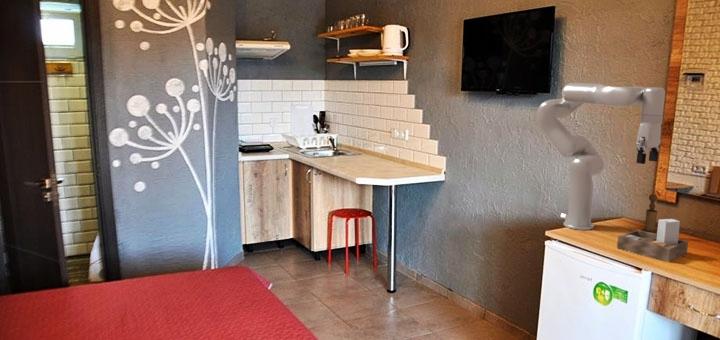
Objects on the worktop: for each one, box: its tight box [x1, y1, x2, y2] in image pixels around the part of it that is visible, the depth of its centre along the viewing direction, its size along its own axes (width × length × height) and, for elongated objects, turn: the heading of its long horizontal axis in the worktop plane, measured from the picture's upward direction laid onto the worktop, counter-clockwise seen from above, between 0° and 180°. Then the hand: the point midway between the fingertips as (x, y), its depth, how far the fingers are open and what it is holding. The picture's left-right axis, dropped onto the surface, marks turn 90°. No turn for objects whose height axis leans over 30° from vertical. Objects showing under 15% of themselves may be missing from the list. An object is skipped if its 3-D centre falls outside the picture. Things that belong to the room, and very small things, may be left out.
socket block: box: [616, 229, 689, 263], centre depth 205 cm, size 19×15×5 cm
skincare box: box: [656, 218, 681, 246], centre depth 202 cm, size 6×4×12 cm
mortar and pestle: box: [640, 193, 658, 234], centre depth 223 cm, size 7×6×18 cm
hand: (646, 162), depth 214 cm, fingers open, 9 cm apart
